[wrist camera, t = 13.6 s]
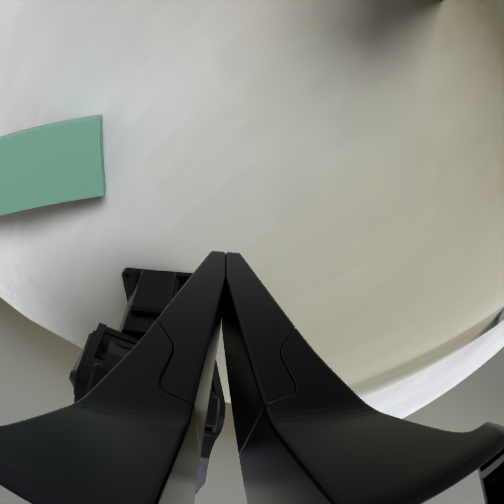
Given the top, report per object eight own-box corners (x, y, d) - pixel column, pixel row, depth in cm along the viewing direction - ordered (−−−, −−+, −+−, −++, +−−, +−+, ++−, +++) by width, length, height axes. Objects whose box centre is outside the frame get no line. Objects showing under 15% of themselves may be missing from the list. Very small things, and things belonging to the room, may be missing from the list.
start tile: (99, 118, 12) (-24, 148, 9) (104, 195, 15) (-10, 218, 12) (102, 114, 14) (-13, 141, 10) (105, 185, 17) (-2, 206, 13)
